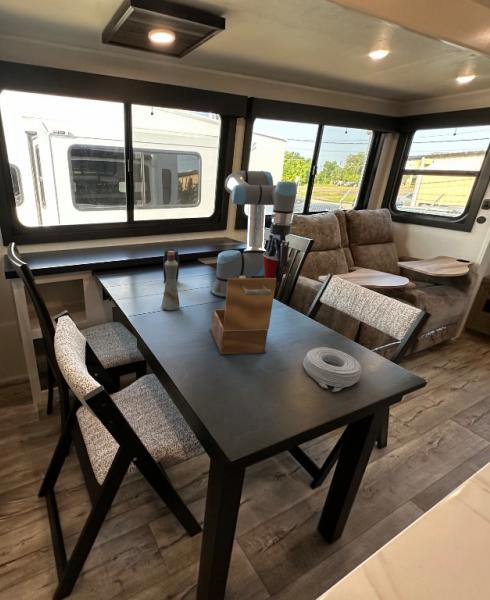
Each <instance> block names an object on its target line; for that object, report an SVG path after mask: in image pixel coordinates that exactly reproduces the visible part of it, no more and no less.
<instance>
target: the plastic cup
mask: <svg viewBox="0 0 490 600" xmlns="http://www.w3.org/2000/svg"><path fill="white" fill-rule="evenodd" d="M263 257H264V277H263V278H275V271H276V266H278V265H277V263H278V259H277V252H276V253H275V256H271V257H270V256H269V252H265V253H263ZM290 260H291V258H290V257H289V256H288V258H287V263H288V262H289V261H290ZM285 268H286V267H284V268H283V272H284V270H285ZM277 285H279V283H276V285H275V286H277Z"/></svg>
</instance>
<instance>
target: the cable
mask: <svg viewBox="0 0 490 600" xmlns="http://www.w3.org/2000/svg"><path fill="white" fill-rule="evenodd" d="M302 365H303V368H304V369H305V372H306V373H307V374H308V375H309V376H310V377H311V378H312V379H313V380H314V381H315V382H317V383H318V385H319V386H320V387H321V388H322V389H326V390H327V389H329V388H328V386H330V387H333V389H331V392H332V393H337V392H339V391H341V390H342V389H344V388H348V387H351V386H353V385H355V384H357V383H358V382H359V380H360V377H361V375H362V366H361V364H360V363H359V361H358V360H357V359H356V358H354V357H353V356H351V355H350V354H348V353H347V352H344V351H341V350H339V349H334V348H332V347H316V348H312V349H311V350H309V351H308V352H307V353H306V355H305V356H304V358H303V360H302Z"/></svg>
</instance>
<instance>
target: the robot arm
mask: <svg viewBox="0 0 490 600" xmlns="http://www.w3.org/2000/svg"><path fill="white" fill-rule="evenodd" d="M224 189H225V190H226V192H228V193H229V194H230V195H231V203H232V204H234V205H240V206H242V205H247V206H248V210H247V231H246V247H245V249H243V253H241V251H240V250H237V249H235V250H234V249H230V250H229V249H228V250H224V251H221V252H219V253H218V255H217V261H216V263H217V264H216V274H215V275H216V276H215V280H214V283H213V285H212V288H211V294H212V295H213V296H215V297H218V298H222V299H226V293H227V282H228V278H240V277H254V278H257V277H263V276H264V257H263V253H265V252H269V256H270V257H271V256H275V253H277V259H278V263H277V265H278V266H276V271H275V278H276V283H278V284H280V283H282V279H283V273H284V271H283V268H284V267H285V268H287V267H288V262H287V258H288V257H289V246H290V241H289V240H288V241H287V240H286V239H287V237H286V236H288V235H289V236H290V234H291V229H292V225H291V224H292V223H293V216H294V210H295V205H296V199H297V198H296V197H297V194H298V182H296V181H278V182H276V185H275V184H274V176H273V175H272V173H271V172H270V171H266V170H265V171H264V170H238V171H237V170H236V171H233V172H232V173H230V174H229V175H228V176H227V177H226V178H225V180H224ZM266 206H273V208H272V214H271V216H270V217H271V224H270V228H269V233H270V234H269V235H268V242H267V247H266V249H265V248H264V243H265V241H264V240H265V222H266V221H265V219H266ZM285 268H284V269H285Z"/></svg>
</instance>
